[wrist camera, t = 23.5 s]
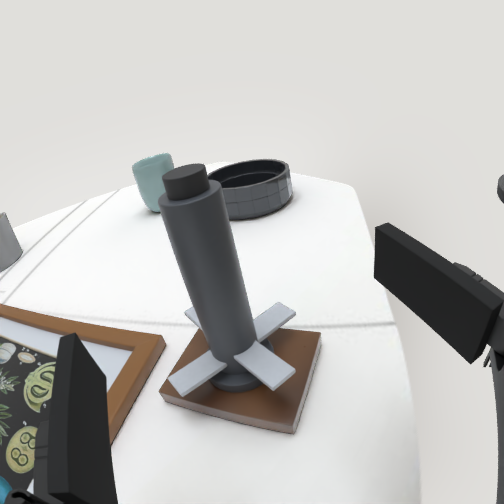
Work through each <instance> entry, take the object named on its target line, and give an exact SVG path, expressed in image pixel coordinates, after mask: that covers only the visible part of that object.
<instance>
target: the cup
mask: <svg viewBox="0 0 504 504" xmlns="http://www.w3.org/2000/svg"><path fill="white" fill-rule="evenodd" d="M132 169H133V174H134V177H135V180H136V184H137V187H138V190H139V192H140V195H141V197H142V199H143V201H144V203H145V205H146V206H147V207H148V208H149V209H150V210H151V211H154V212H160V209H159V206H158V198H159V197H160V196H161V195H162V194H163V193H165V192H166V191H165V187H164V184H163V181H162V176H163V175H164V174H165V173H167V172H168V171H170V170H173V169H174V165H173V161H172V158H171V155H170V154H168V153H165V154H159V155H155V156H152V157H148V158H145V159H143V160H141V161H139V162H137V163H135V164H134V165H133V166H132Z"/></svg>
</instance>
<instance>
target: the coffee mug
mask: <svg viewBox="0 0 504 504" xmlns="http://www.w3.org/2000/svg"><path fill="white" fill-rule="evenodd" d="M22 252H23V251H22V249H21V247H20V245H19V243H18V240H17V238H16V236H15V234H14V232H13V230H12V228H11V225H10V223H9V220H8V218H7V216H6V214H5V213H0V271H3V270H4V269H6V268H8V267H9V266H10V265H12V264H13V263H14V262H15V261H16V260H17V259H18V258H19V257H20V256H21V254H22Z"/></svg>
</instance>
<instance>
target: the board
mask: <svg viewBox="0 0 504 504" xmlns="http://www.w3.org/2000/svg"><path fill="white" fill-rule="evenodd" d="M266 339H268V340H269V342H270V343H271V344H272V346H273V349H274V354H275V355H276V356H278V357H279V358H280V359H282V360H283V361H285V362H286V363H287V364H289V365H290V366H292V367H293V368H295V371H296V372H295V373H294V374H293V375H292V376H291V377H290V378H288V379H287V380H286V381H285V382H284V383H282V384H281V385H280V386H279V387H278V388H276V389H275V390H274V391H273V390H271V389H270V388H269V387H268V386H267V385H265V384H264V383H263V384H262V385H260V386H259V387H257V388H255V389H252V390H249V391H246V392H238V393H234V392H227V391H223V390H221V389H219V388H217V387H216V386H214V385H213V384H212V383H211V382H210V380H209V379H208V380H207V381H206V382H204V383H203V384H201V385H200V386H198V387H197V388H195V389H194V390H192V391H191V392H189V393H188V394H186V395H185V396H183V397H182V396H181V395H180V394H179V393H178V391H177V390H176V389H175V388H174V387H173V385H172V384H171V383H170V382H169V380H168V377H170V376H171V375H173V374H174V373H176V372H177V371H179V370H180V369H182V368H183V367H185V366H186V365H188V364H189V363H191V362H193V361H194V360H196V359H197V358H199V357H200V356H202V355H203V354H204V353H206V351H207V350H208V348H209V346H208V343H207V341H206V338H205V335H204V333H203V331H202V330H201V329H200V328H199V329H198V330H197V332H196V334H195V335H194V337H193V338H192V340H191V341H190V343H189V345H188V346H187V348H186V349H185V351H184V352H183V354H182V355H181V357H180V359H179V360H178V362H177V363H176V365H175V366H174V368H173V370H172V371H171V373H170V374H169V376H168V377H167V379H166V381H165V382H164V384H163V385H162V387H161V388H160V390H159V393H160V394H161V396H162V397H163V399H164V400H165V401H166V402H169V403H172V404H175V405H178V406H181V407H185V408H188V409H191V410H194V411H198V412H201V413H205V414H208V415H212V416H215V417H219V418H223V419H227V420H230V421H234V422H238V423H243V424H247V425H251V426H256V427H260V428H265V429H270V430H274V431H280V432H285V433H290V434H294V433H295V430H296V427H297V424H298V421H299V418H300V415H301V412H302V409H303V406H304V402H305V399H306V396H307V393H308V389H309V386H310V382H311V379H312V376H313V372H314V369H315V365H316V361H317V358H318V354H319V350H320V347H321V333H320V332H312V331H302V330H292V329H283V328H278V329H277V330H276V331H275V332H273V333H272V334H271V335H269V336H268V337H267V338H266Z"/></svg>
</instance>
